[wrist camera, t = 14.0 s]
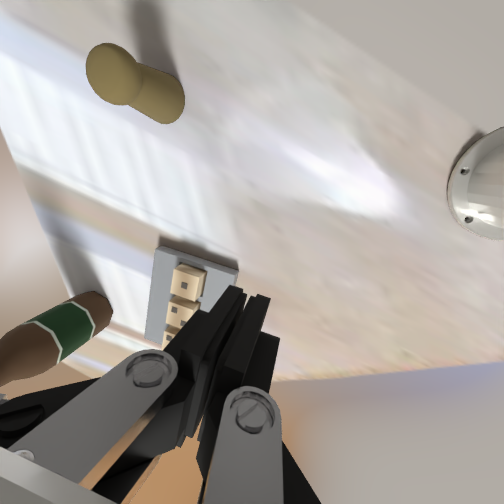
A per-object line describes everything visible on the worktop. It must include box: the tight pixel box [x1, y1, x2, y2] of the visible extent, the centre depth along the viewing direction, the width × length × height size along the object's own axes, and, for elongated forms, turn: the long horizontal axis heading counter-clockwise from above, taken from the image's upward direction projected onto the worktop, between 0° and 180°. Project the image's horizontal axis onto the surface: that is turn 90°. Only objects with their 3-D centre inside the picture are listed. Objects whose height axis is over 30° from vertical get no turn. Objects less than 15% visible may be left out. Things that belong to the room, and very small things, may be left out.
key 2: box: [166, 295, 201, 329], centre depth 41 cm, size 4×4×4 cm
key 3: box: [161, 325, 180, 351], centre depth 43 cm, size 4×4×4 cm
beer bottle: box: [0, 291, 113, 387], centre depth 37 cm, size 8×8×24 cm
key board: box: [144, 246, 239, 345], centre depth 43 cm, size 13×17×2 cm
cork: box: [86, 43, 185, 124], centre depth 30 cm, size 6×6×11 cm
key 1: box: [170, 263, 208, 302], centre depth 39 cm, size 4×4×4 cm
